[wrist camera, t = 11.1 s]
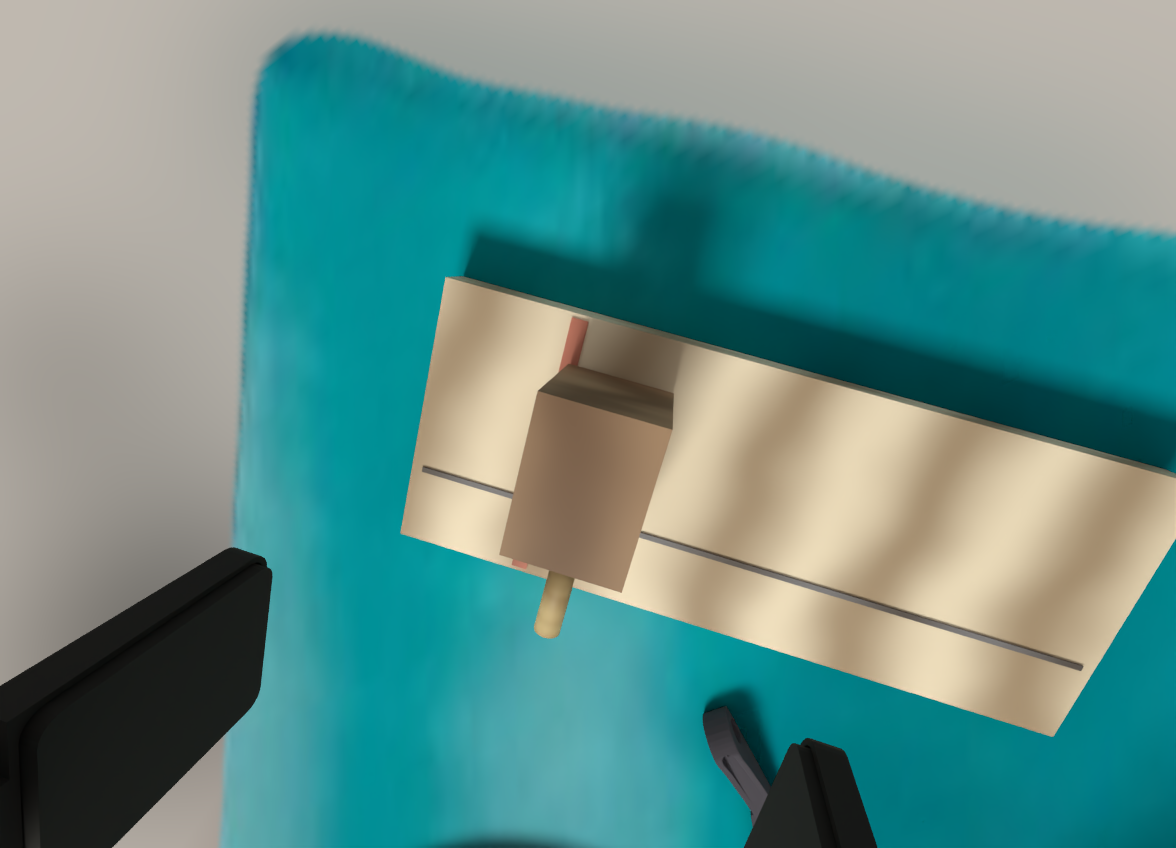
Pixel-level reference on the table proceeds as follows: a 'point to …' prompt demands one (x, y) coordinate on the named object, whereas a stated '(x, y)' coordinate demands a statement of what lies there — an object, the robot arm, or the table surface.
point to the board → (812, 508)
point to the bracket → (736, 758)
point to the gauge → (586, 482)
